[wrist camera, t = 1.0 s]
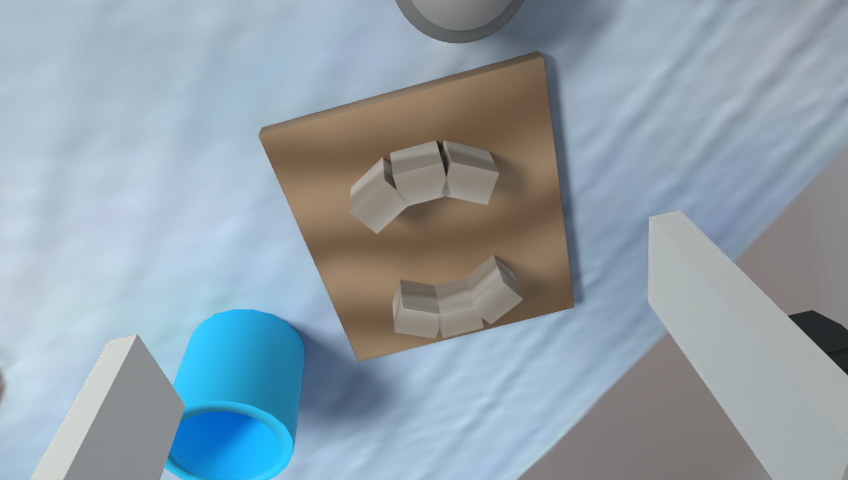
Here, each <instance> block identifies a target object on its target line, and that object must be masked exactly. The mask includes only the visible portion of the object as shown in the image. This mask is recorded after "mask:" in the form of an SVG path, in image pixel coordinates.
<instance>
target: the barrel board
mask: <svg viewBox="0 0 848 480" xmlns="http://www.w3.org/2000/svg"><path fill="white" fill-rule="evenodd" d="M259 138H260V140H261V143H262V145H263V147H264V149H265V152H266V154H267V156H268V158H269V161H270V163H271V165H272V167H273V170H274V172H275V174H276V177H277V179H278V181H279V183H280V186H281V188H282V190H283V192H284V195H285V197H286V199H287V201H288V204H289V206H290V208H291V211H292V213H293V215H294V217H295V220H296V222H297V224H298V226H299V229H300V231H301V233H302V235H303V238H304V240H305V242H306V245H307V247H308V249H309V251H310V254H311V256H312V258H313V260H314V263H315V265H316V267H317V269H318V272H319V274H320V276H321V278H322V281H323V283H324V285H325V288H326V290H327V292H328V294H329V297H330V299H331V301H332V303H333V306H334V308H335V310H336V312H337V315H338V317H339V319H340V322H341V324H342V326H343V328H344V331H345V333H346V335H347V337H348V340H349V342H350V344H351V346H352V349H353V351H354V353H355V356H356V358H357V360H358V362H359V361H363V360H367V359H371V358H375V357H379V356H383V355H387V354H391V353H395V352H399V351H403V350H407V349H411V348H415V347H419V346H423V345H427V344H431V343H435V342H439V341H443V340H447V339H451V338H455V337H458V336H462V335H466V334H470V333H474V332H478V331H482V330H486V329H490V328H494V327H498V326H502V325H506V324H510V323H514V322H518V321H522V320H526V319H530V318H534V317H538V316H542V315H546V314H550V313H554V312H558V311H561V310H565V309H569V308H573V307H574V299H573V291H572V283H571V275H570V267H569V259H568V251H567V243H566V235H565V226H564V218H563V210H562V202H561V194H560V186H559V178H558V170H557V162H556V154H555V146H554V138H553V129H552V121H551V113H550V105H549V97H548V89H547V81H546V73H545V65H544V57H543V56H542V55H541V54H540V53H539V52H534V53H530V54H526V55H523V56H519V57H516V58H512V59H508V60H505V61H501V62H498V63H494V64H490V65H487V66H483V67H479V68H476V69H472V70H469V71H465V72H461V73H458V74H454V75H451V76H447V77H443V78H440V79H436V80H433V81H429V82H425V83H422V84H418V85H414V86H411V87H407V88H404V89H400V90H396V91H393V92H389V93H386V94H382V95H378V96H375V97H371V98H368V99H364V100H360V101H357V102H353V103H349V104H346V105H342V106H339V107H335V108H331V109H328V110H324V111H321V112H317V113H313V114H310V115H306V116H303V117H299V118H295V119H292V120H288V121H284V122H281V123H277V124H274V125H270V126H266V127H263V128H261V131H260V133H259Z"/></svg>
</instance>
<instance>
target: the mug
mask: <svg viewBox="0 0 848 480" xmlns="http://www.w3.org/2000/svg"><path fill="white" fill-rule="evenodd" d="M304 362H305V349H304V344H303V342H302V340H301V338H300V336H299V334H298V333H297V332H296V331H295V330H294V329H293V328H292V327H291V326H290V325H289V324H288V323H287V322H285V321H283V320H281V319H280V318H278V317H276V316H274V315H272V314H269V313H265V312H261V311H257V310H237V309H234V310H230V311H226V312H222V313H217V314H215V315H213V316H212V317H210V318H208V319H206V320H205V321H203V322H202V323H201V324H200V325H199V326H198V327H197V329H196V330H195V331H194V332H193V333H192V336H191V339H190V341H189V344H188V346H187V349H186V352H185V354H184V357H183V359H182V362H181V365H180V367H179V370H178V372H177V375H176V378H175V380H174V383H173V385H172V386H173V388H174V389H175V391H176V392H177V394H178V395H179V397H180V398H181V400H182V401H183V402H184V404H185V408H184V411H183V414H182V417H181V420H180V423H179V426H178V428H177V431H176V434H175V437H174V440H173V443H172V446H171V449H170V452H169V455H168V457H167V460H166V463H165V466H164V467H165V468H166V469H167V470H169V471H170V472H172V473H174V474H175V475H177V476H178V477H180V478H181V479H184V480H269V479H271V478H273V477H275V476H277V475H278V474H279V473H280V472H281V471H282V470H283V469H284V468H285V467H286V466H287V465H288V463H289V461H290V459H291V457H292V455H293V451H294V443H295V435H296V427H297V419H298V411H299V402H300V394H301V386H302V378H303V370H304Z"/></svg>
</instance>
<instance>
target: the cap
mask: <svg viewBox="0 0 848 480" xmlns="http://www.w3.org/2000/svg"><path fill="white" fill-rule="evenodd" d="M523 1H524V0H396V2H397V5H398V7H399V8H400V10H401V11H402V13H403V15H404V16H405V17H406V18H407V19H408V21H409V22H410V23H411V24H412V25H413V26H415V27H416V28H417V29H418V30H420V31H421V32H422V33H424V34H426V35H428V36H429V37H431V38H434V39H437V40H439V41H443V42H448V43H468V42H472V41H477V40H480V39H482V38H485V37H487V36H489V35H491V34H493V33H494V32H496V31H497V30H499V29H500V28H502V27H503V26H504V25H505V24H506V23H507V22H508V21H509V20H510V19H511V18H512V17H513V16H514V15H515V13H516V12H517V11H518V9H519V8H520V6H521V5H522V3H523Z"/></svg>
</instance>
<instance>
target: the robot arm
mask: <svg viewBox="0 0 848 480" xmlns="http://www.w3.org/2000/svg"><path fill="white" fill-rule="evenodd" d="M648 303H649V304H650V306H651V307H652V309H653V310H654V311H655V313H656V314H657V316H658V317H659V319H660V320H661V321H662V323H663V324H664V326H665V327H666V329H667V330H668V331H669V333H670V334H671V336H672V337H673V338H674V340H675V341H676V343H677V344H678V346H679V347H680V348H681V350H682V351H683V352H684V354H685V356H686V357H687V358H688V360H689V361H690V362H691V364H692V365H693V367H694V368H695V370H696V371H697V373H698V374H699V375H700V377H701V378H702V379H703V381H704V383H705V384H706V385H707V387H708V388H709V390H710V391H711V392H712V394H713V395H714V396H715V398H716V400H717V401H718V402H719V404H720V405H721V407H722V408H723V410H724V411H725V412H726V414H727V415H728V417H729V418H730V420H731V421H732V422H733V424H734V425H735V426H736V428H737V429H738V431H739V432H740V434H741V435H742V437H743V438H744V439H745V441H746V442H747V444H748V445H749V447H750V448H751V449H752V451H753V452H754V454H755V455H756V457H757V458H758V459H759V461H760V462H761V464H762V465H763V467H764V468H765V469H766V471H767V472H768V474H769V475H770V477H771V478H772V479H773V480H848V330H847V329H846V328H844V327H843V326H842V325H841V324H839V323H836V322H835V321H833V320H831V319H829V318H827V317H825V316H823V315H821V314H819V313H817V312H815V311H813V310H811V311H807V312H802V313H798V314H793V315H789V316H787V315H786V314H785V313H784V312H783V311H782V310H781V309H780V308H779V307H778V306H777V305H776V304H775V303H774V302H773V301H772V300H771V299H770V298H769V297H768V296H767V295H766V294H765V293H764V292H763V291H762V290H761V289H760V288H759V287H758V286H757V285H756V284H755V283H754V282H753V281H751V279H750V278H748V277H747V276H746V275H745V273H743V272H742V271H741V270H740V269H739V268H738V267H737V266H736V265H735V264H734V263H733V262H732V261H731V260H730V259H729V258H728V257H727V256H726V255H725V254H724V253H723V252H722V251H721V250H720V249H719V248H718V247H717V246H716V245H715V244H714V243H713V242H712V241H711V240H710V239H709V238H708V237H707V236H706V235H705V234H704V233H703V232H702V231H701V230H700V229H699V228H698V227H697V226H696V225H695V224H694V223H693V222H692V221H691V220H690V219H689V218H688V217H687V216H686V215H685V214H684V213H683V212H682V211H681V210H676V211H672V212H668V213H663V214H659V215H654V216H650V217H649V253H648ZM184 408H185V404H184V402H183V401H182V400H181V398H180V397H179V395H178V394H177V392H176V391H175V389H174V388H173V386H172V385H171V383H170V382H169V380H168V379H167V377H166V376H165V374H164V373H163V371H162V370H161V368H160V367H159V365H158V364H157V362H156V361H155V359H154V358H153V356H152V355H151V353H150V352H149V350H148V349H147V348H146V346H145V345H144V343H143V342H142V340H141V339H140V337H139V336H138V334H136V335H131V336H127V337H123V338H118V339H114V340H110V341H108V343H107V344H106V346H105V348H104V350H103V351H102V353H101V355H100V357H99V358H98V360H97V362H96V364H95V365H94V367H93V369H92V371H91V373H90V374H89V376H88V378H87V380H86V381H85V383H84V385H83V387H82V388H81V390H80V392H79V394H78V395H77V397H76V399H75V401H74V402H73V404H72V406H71V408H70V409H69V411H68V413H67V415H66V417H65V418H64V420H63V422H62V424H61V425H60V427H59V429H58V431H57V432H56V434H55V436H54V438H53V439H52V441H51V443H50V445H49V446H48V448H47V450H46V452H45V453H44V455H43V457H42V459H41V461H40V462H39V464H38V466H37V468H36V469H35V471H34V473H33V475H32V476H31V478H30V480H160V478H161V475H162V472H163V469H164V466H165V463H166V460H167V457H168V455H169V452H170V449H171V446H172V443H173V440H174V437H175V434H176V431H177V428H178V426H179V423H180V420H181V417H182V414H183V411H184Z"/></svg>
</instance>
